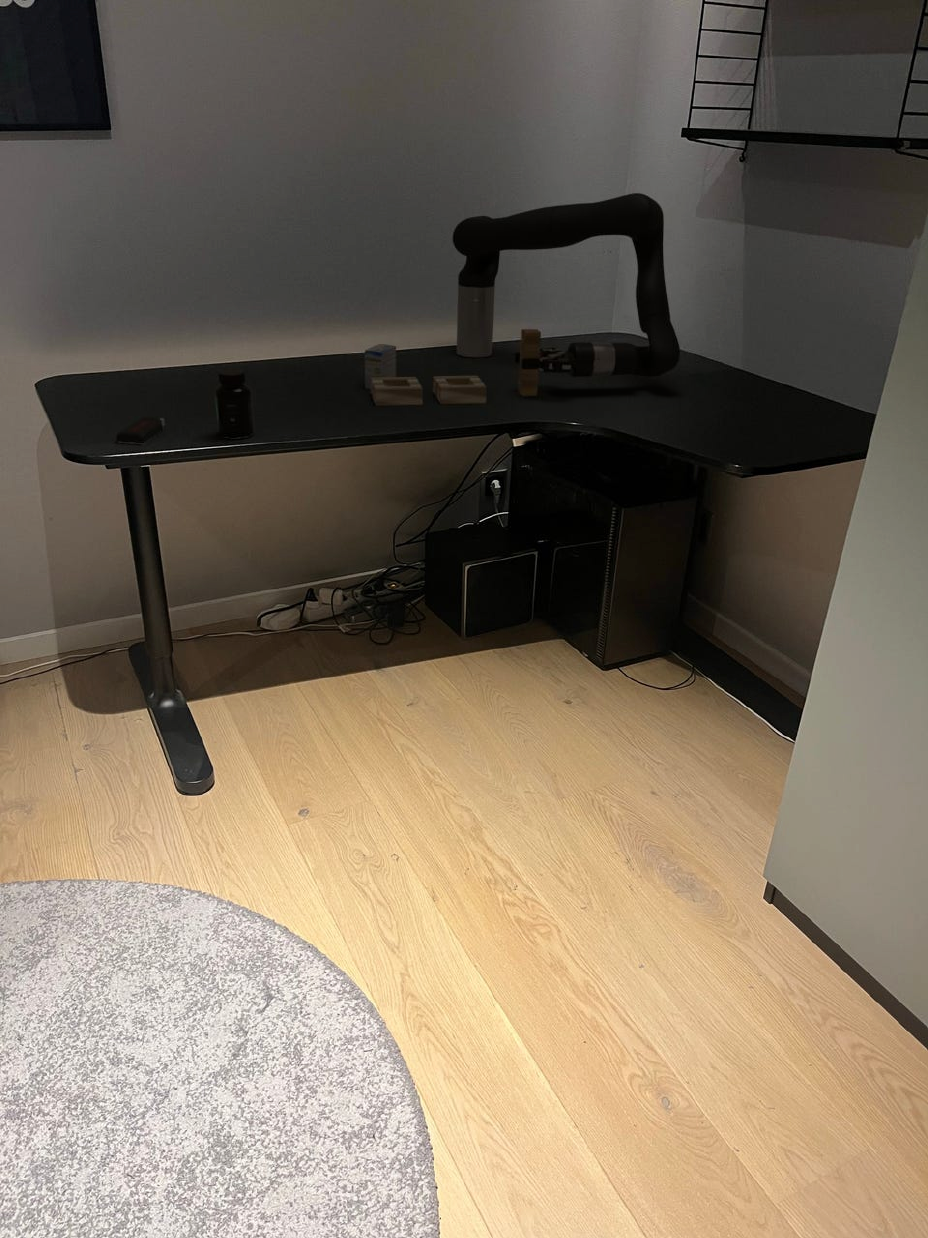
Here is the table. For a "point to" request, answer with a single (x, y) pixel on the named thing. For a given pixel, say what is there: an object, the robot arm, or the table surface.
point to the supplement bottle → (234, 405)
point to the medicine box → (380, 363)
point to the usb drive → (141, 430)
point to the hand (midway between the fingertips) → (518, 360)
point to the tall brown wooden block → (527, 350)
